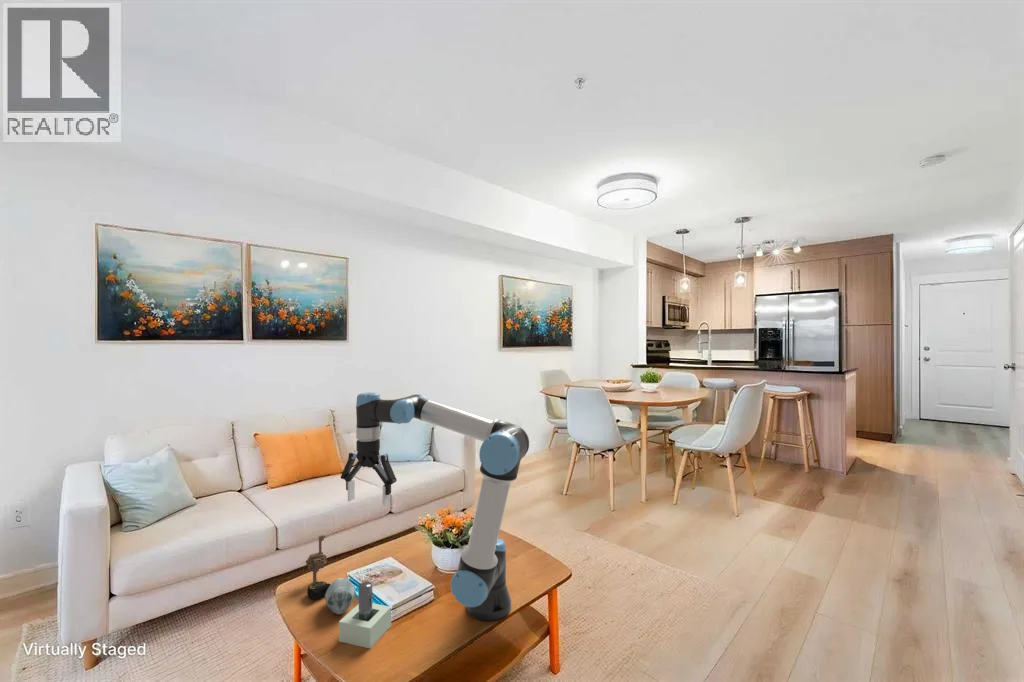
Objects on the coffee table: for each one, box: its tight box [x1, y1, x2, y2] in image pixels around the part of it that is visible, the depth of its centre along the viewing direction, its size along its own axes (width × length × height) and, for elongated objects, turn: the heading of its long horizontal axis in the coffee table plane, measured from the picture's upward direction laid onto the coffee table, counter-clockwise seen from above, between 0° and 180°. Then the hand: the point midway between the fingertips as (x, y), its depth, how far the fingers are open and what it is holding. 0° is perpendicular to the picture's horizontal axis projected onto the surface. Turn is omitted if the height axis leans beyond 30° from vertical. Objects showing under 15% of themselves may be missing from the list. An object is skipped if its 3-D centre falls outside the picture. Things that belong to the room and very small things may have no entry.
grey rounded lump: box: [324, 577, 356, 615], centre depth 150 cm, size 14×10×10 cm
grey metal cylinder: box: [358, 581, 373, 622], centre depth 137 cm, size 4×4×15 cm
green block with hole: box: [338, 602, 392, 650], centre depth 137 cm, size 11×11×6 cm
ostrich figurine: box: [277, 534, 328, 595], centre depth 162 cm, size 17×7×18 cm, turn 121°
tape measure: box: [307, 580, 332, 600], centre depth 157 cm, size 7×7×4 cm
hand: (368, 502), depth 149 cm, fingers open, 13 cm apart
